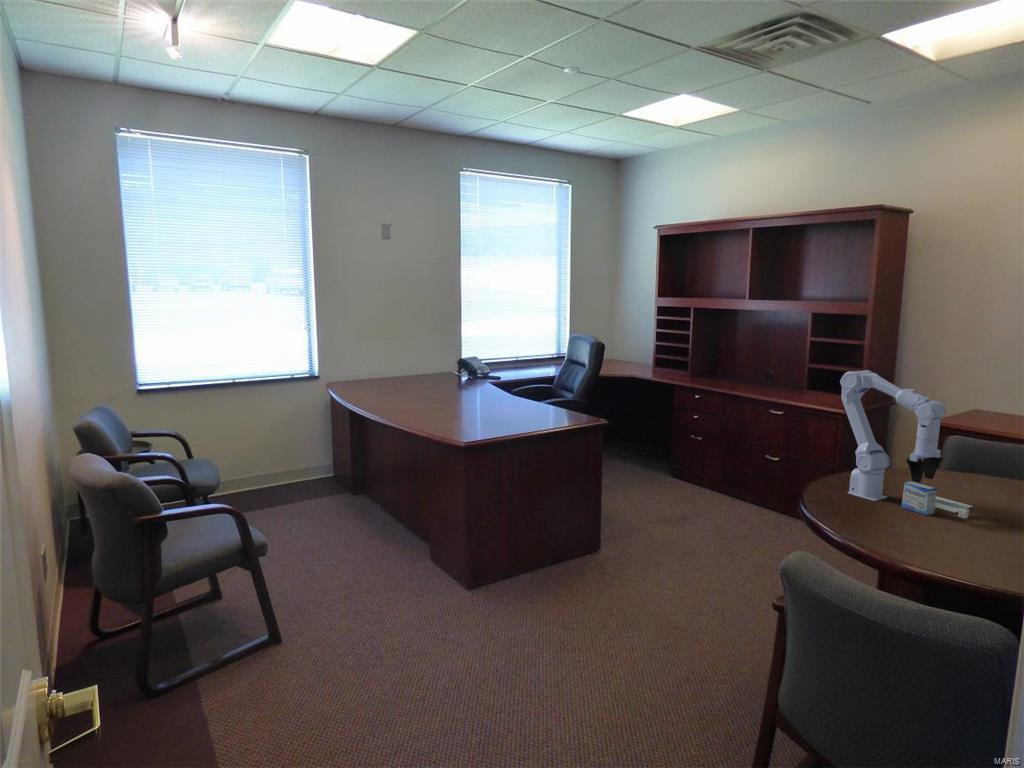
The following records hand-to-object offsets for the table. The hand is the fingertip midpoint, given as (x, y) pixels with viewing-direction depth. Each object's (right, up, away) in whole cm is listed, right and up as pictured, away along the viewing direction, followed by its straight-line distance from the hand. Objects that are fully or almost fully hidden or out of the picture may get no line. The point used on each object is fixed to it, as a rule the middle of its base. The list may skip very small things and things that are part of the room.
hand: (922, 480), depth 192 cm
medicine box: (0, -10, +2) cm, 11 cm away
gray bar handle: (+6, -10, +3) cm, 12 cm away
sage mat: (+12, -9, +9) cm, 17 cm away
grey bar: (+6, -8, +3) cm, 10 cm away
